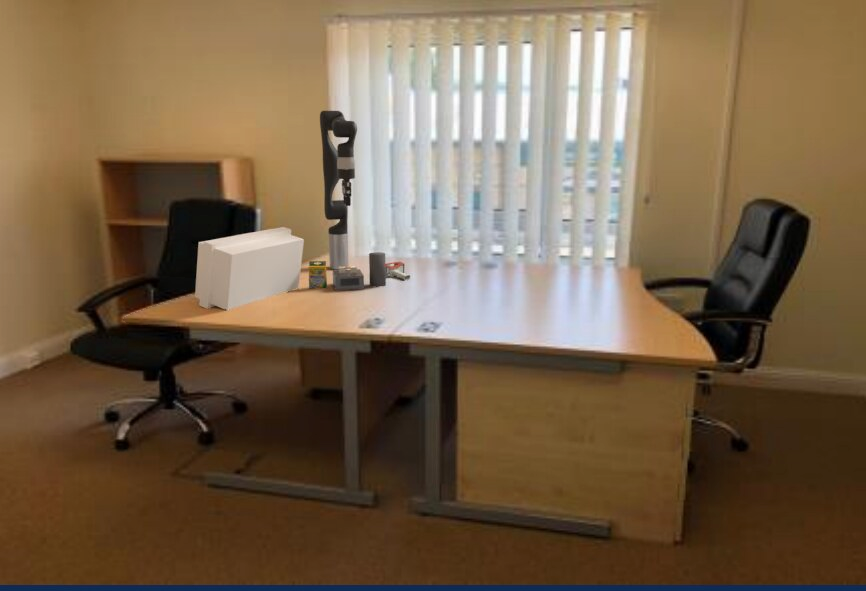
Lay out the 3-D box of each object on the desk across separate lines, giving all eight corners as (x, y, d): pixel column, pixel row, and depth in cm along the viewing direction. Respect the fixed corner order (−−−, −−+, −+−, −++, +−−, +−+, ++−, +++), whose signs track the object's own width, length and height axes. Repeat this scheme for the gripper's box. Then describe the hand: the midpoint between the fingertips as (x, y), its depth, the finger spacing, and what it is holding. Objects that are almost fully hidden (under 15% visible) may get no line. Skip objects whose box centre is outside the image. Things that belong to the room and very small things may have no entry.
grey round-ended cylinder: (368, 283, 305) (368, 252, 301) (384, 282, 306) (383, 252, 303) (371, 287, 298) (370, 255, 295) (386, 286, 300) (386, 254, 296)
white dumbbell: (338, 272, 297) (338, 266, 296) (356, 271, 299) (356, 265, 298) (339, 273, 296) (339, 268, 295) (356, 272, 298) (356, 267, 297)
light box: (270, 280, 305) (275, 224, 296) (300, 291, 298) (307, 234, 289) (191, 302, 266) (195, 238, 258) (223, 315, 259) (229, 251, 251)
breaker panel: (333, 283, 305) (332, 270, 303) (360, 282, 307) (359, 269, 306) (335, 290, 291) (335, 277, 290) (364, 289, 294) (363, 275, 292)
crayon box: (309, 289, 295) (308, 262, 292) (310, 287, 298) (308, 261, 295) (326, 288, 295) (325, 262, 292) (327, 287, 298) (325, 260, 295)
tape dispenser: (408, 284, 311) (416, 273, 330) (409, 273, 309) (416, 262, 328) (370, 281, 313) (380, 270, 332) (370, 270, 312) (380, 259, 331)
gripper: (335, 166, 307) (337, 203, 311) (338, 168, 294) (340, 206, 297) (352, 166, 309) (353, 202, 313) (356, 168, 295) (357, 206, 299)
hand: (347, 204), depth 305 cm, fingers open, 8 cm apart
